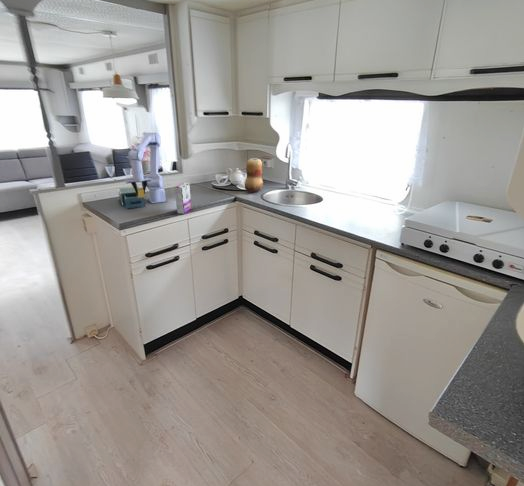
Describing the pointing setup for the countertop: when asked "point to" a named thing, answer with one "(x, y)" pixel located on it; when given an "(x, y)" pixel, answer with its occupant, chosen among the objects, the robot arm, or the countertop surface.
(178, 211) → the candy bar box
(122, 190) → the cabinet
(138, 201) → the drawer
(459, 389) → the countertop surface
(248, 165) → the butternut squash
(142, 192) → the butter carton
